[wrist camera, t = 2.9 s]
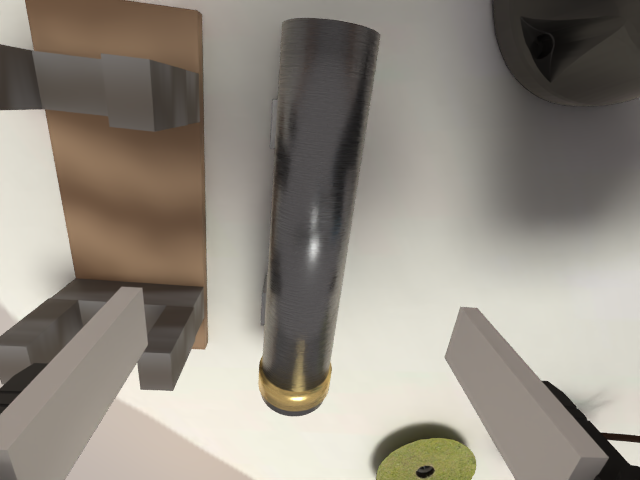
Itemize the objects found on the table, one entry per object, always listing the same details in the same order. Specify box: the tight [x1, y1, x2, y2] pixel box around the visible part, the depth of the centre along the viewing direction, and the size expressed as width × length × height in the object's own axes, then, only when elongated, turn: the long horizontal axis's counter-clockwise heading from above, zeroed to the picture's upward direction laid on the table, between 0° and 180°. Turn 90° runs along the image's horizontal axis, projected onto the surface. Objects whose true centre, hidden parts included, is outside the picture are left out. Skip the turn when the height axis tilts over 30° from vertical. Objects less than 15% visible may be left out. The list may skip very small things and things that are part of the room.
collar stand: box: [0, 0, 208, 391], centre depth 22 cm, size 26×10×9 cm, turn 174°
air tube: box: [258, 18, 380, 416], centre depth 22 cm, size 24×5×5 cm, turn 174°
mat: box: [376, 438, 476, 480], centre depth 38 cm, size 11×11×2 cm
